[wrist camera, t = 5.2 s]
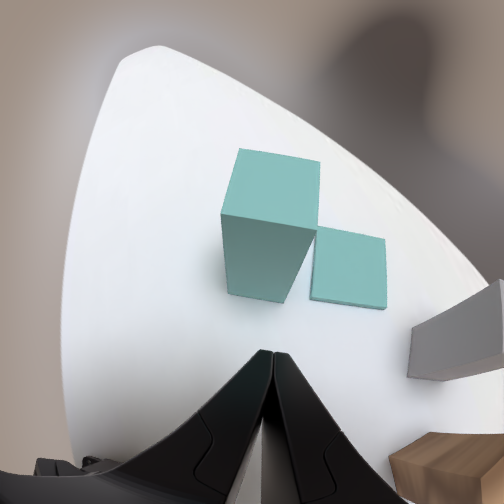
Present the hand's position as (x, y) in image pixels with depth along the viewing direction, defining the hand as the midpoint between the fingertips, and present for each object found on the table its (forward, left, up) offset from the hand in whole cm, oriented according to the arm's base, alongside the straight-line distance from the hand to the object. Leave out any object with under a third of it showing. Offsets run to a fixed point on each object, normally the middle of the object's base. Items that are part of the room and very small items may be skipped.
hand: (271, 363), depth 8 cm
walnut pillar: (-7, -13, -11) cm, 19 cm away
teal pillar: (+8, 0, -11) cm, 14 cm away
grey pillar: (+2, -14, -11) cm, 18 cm away
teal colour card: (+9, -7, -11) cm, 16 cm away
